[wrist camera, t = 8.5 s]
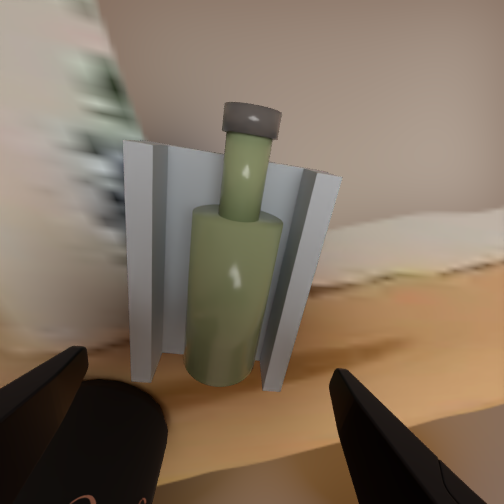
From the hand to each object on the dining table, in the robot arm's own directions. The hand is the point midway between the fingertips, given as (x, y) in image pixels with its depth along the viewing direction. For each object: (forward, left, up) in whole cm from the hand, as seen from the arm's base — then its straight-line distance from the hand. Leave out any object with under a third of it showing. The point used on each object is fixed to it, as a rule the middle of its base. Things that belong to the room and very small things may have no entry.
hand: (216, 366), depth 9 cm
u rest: (0, 0, -8) cm, 8 cm away
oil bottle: (+2, 0, -7) cm, 8 cm away
